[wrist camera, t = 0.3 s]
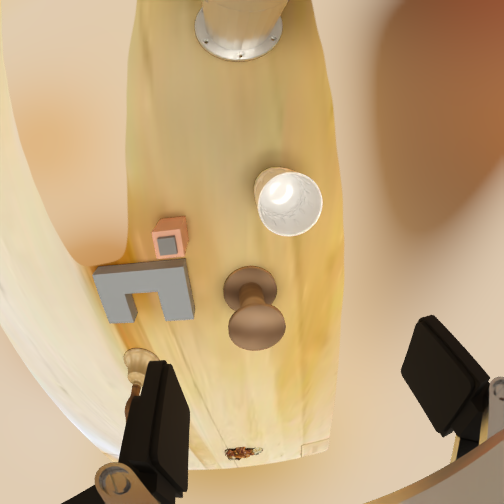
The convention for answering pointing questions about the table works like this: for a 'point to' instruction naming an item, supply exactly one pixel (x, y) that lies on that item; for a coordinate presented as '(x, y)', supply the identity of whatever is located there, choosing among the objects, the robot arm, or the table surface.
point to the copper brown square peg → (170, 237)
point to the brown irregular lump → (242, 453)
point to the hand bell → (137, 370)
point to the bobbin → (253, 309)
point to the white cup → (287, 201)
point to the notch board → (145, 289)
